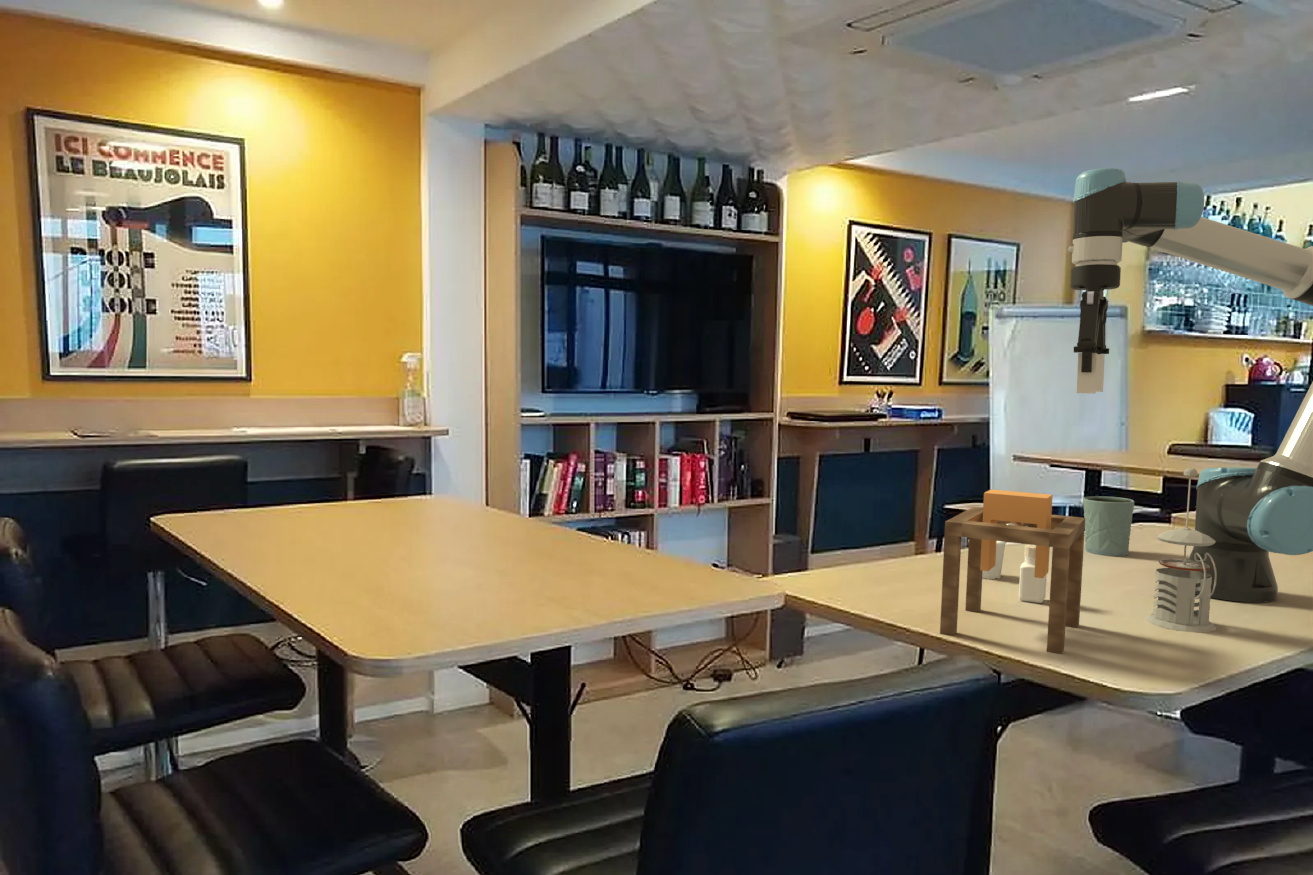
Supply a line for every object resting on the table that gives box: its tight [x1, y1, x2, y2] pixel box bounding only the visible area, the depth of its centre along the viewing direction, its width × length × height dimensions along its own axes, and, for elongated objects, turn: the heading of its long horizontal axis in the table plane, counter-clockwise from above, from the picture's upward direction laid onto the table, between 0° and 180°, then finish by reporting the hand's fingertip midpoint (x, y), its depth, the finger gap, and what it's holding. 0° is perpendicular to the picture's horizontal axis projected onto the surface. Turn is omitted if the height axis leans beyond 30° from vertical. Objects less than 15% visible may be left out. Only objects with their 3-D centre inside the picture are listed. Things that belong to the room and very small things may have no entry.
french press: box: [1145, 467, 1217, 633], centre depth 144 cm, size 10×12×25 cm
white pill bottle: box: [1018, 544, 1048, 604], centre depth 159 cm, size 4×4×10 cm
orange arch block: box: [980, 488, 1053, 578], centre depth 140 cm, size 9×5×12 cm, turn 58°
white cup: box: [968, 539, 1007, 580], centre depth 177 cm, size 7×7×7 cm
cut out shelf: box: [939, 506, 1085, 655], centre depth 140 cm, size 17×18×17 cm
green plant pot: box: [1082, 495, 1135, 557], centre depth 203 cm, size 10×10×12 cm
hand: (1090, 392), depth 154 cm, fingers open, 13 cm apart
